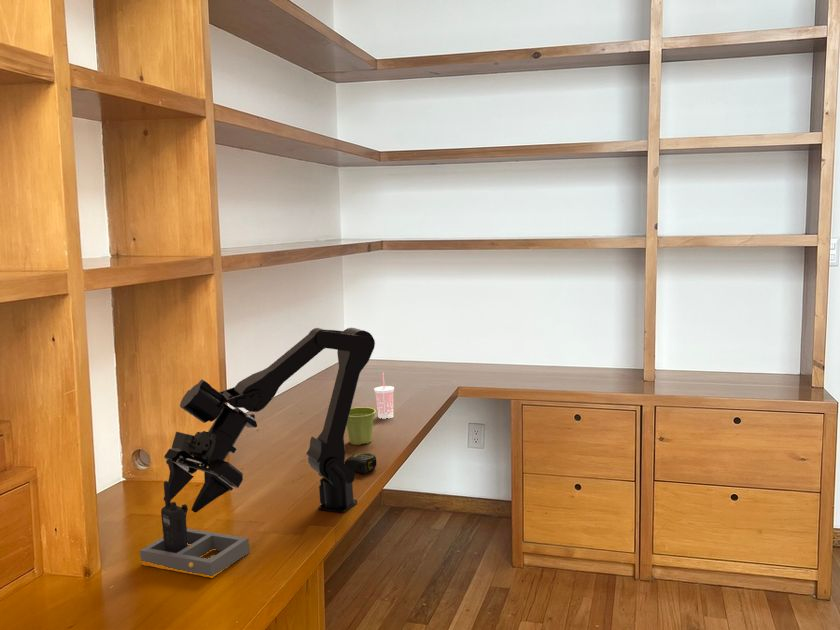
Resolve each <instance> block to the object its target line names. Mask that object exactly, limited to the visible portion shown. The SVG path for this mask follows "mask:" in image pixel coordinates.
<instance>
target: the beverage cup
mask: <svg viewBox="0 0 840 630" xmlns="http://www.w3.org/2000/svg"><path fill="white" fill-rule="evenodd" d="M385 382H386V381H385V372H384V371H383V372H382V385H381V386H377V387H374V388H373V390H374V393H375V399H376V406H377V407H376V408H377V414H378V419H381V418H382V420H387V419H386V418H388V419H392V418H394V391H395V387H394V386H393V385H392V386H391V385H386V383H385Z"/></svg>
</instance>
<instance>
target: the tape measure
mask: <svg viewBox="0 0 840 630" xmlns="http://www.w3.org/2000/svg"><path fill="white" fill-rule="evenodd" d="M344 464H345V465H346V466H347V467H349V468H350V469H352V470H353V471H354V472H355V473H356V472H357V473H360V474H366V473H368V472H370V471H373V470H375V469H376V467H377V457H376V455H375V454H374V453H371V452H358V453H355V454H352V455H351V456H350V457H348V458H345V462H344Z"/></svg>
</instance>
